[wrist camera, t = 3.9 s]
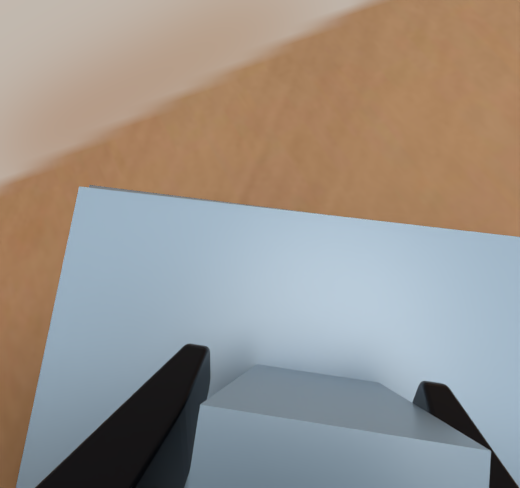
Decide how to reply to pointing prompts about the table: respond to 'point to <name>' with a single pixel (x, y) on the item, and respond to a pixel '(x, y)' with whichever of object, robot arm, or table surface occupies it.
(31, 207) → the table surface
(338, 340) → the tub lid
